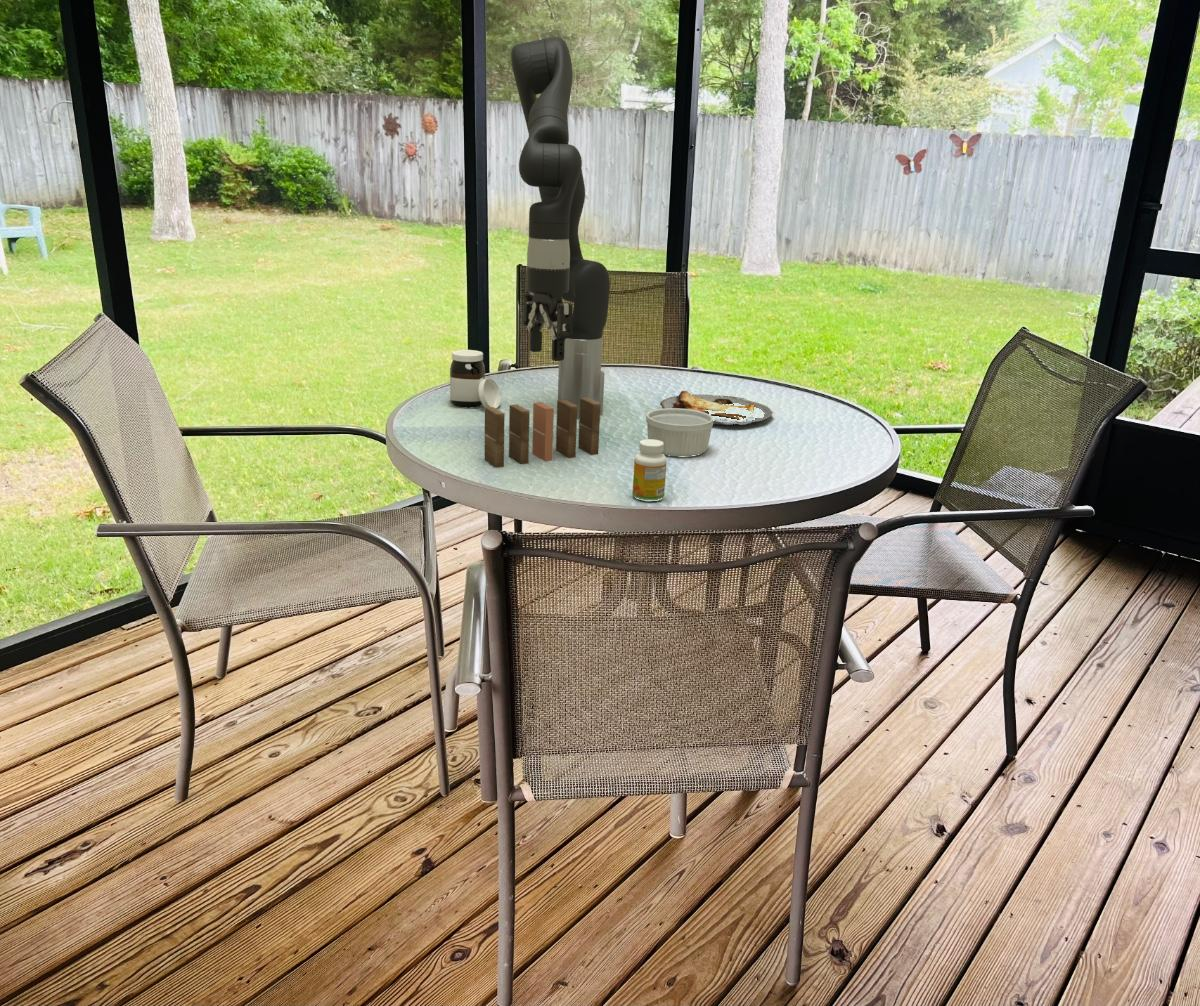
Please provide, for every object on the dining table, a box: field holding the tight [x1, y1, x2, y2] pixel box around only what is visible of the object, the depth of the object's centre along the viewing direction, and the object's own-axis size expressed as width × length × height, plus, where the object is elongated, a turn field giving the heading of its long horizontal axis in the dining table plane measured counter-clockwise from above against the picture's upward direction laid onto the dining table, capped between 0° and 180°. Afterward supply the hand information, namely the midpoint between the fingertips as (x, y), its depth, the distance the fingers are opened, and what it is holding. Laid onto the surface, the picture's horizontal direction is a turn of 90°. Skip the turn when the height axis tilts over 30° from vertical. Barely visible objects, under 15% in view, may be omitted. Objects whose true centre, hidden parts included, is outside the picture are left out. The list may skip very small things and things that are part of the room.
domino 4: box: [555, 399, 578, 459], centre depth 180 cm, size 2×5×10 cm, turn 31°
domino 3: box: [531, 401, 555, 462], centre depth 177 cm, size 2×5×10 cm, turn 32°
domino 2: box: [508, 403, 531, 465], centre depth 175 cm, size 2×5×10 cm, turn 31°
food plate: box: [659, 390, 774, 426], centre depth 214 cm, size 25×23×4 cm
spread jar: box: [449, 349, 502, 409], centre depth 211 cm, size 12×11×12 cm
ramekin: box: [645, 408, 714, 457], centre depth 187 cm, size 13×13×7 cm
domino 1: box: [484, 407, 506, 469], centre depth 172 cm, size 2×5×10 cm, turn 31°
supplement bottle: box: [631, 438, 668, 500], centre depth 159 cm, size 5×5×10 cm
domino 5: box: [577, 398, 601, 456], centre depth 182 cm, size 2×5×10 cm, turn 31°
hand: (546, 355), depth 172 cm, fingers open, 8 cm apart
